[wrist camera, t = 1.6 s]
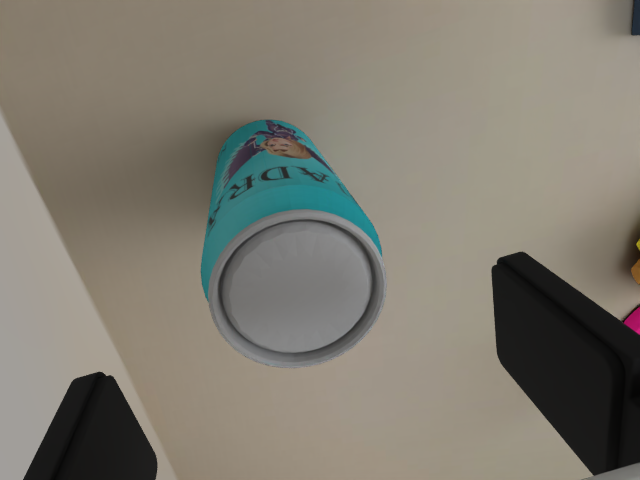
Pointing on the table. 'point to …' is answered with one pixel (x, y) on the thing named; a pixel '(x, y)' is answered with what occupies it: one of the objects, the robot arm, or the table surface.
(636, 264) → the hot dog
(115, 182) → the table surface
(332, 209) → the beverage can
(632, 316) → the figurine
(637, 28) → the flat blue box
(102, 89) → the table surface
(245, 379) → the table surface
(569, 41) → the table surface
